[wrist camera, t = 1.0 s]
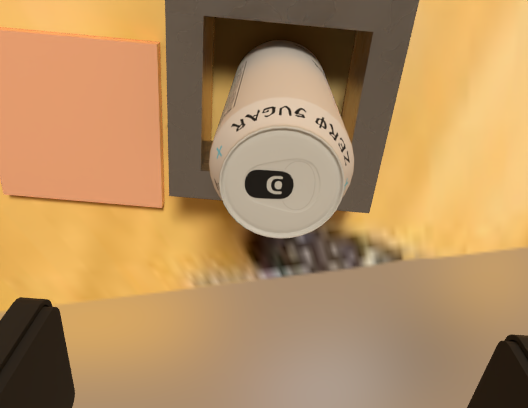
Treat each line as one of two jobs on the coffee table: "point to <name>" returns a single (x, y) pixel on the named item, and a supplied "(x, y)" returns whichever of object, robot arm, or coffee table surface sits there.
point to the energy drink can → (281, 144)
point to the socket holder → (299, 13)
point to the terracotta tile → (81, 118)
